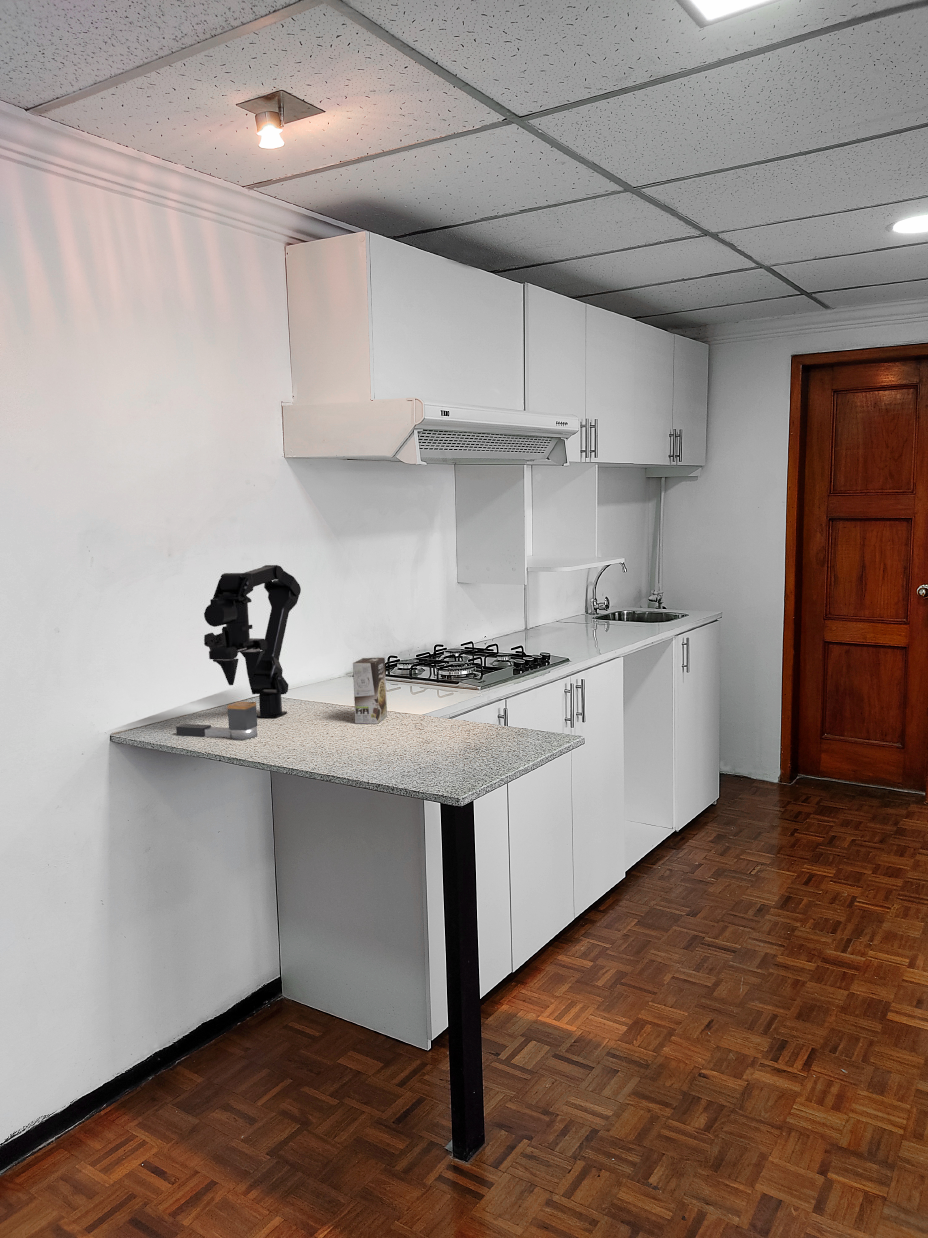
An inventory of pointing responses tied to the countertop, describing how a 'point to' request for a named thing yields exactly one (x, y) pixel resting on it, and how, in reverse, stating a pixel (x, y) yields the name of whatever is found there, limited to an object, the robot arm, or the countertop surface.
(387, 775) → the countertop surface
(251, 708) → the grey block
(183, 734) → the ratchet
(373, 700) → the coffee box
